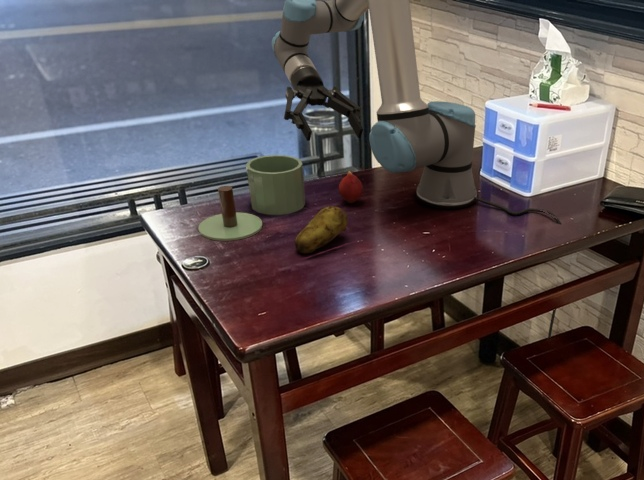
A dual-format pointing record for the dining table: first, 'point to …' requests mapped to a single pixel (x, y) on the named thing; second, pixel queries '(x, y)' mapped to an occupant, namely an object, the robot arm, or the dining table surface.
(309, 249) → the potato
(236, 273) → the dining table surface
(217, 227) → the lid
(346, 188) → the onion
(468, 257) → the dining table surface
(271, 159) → the pot
